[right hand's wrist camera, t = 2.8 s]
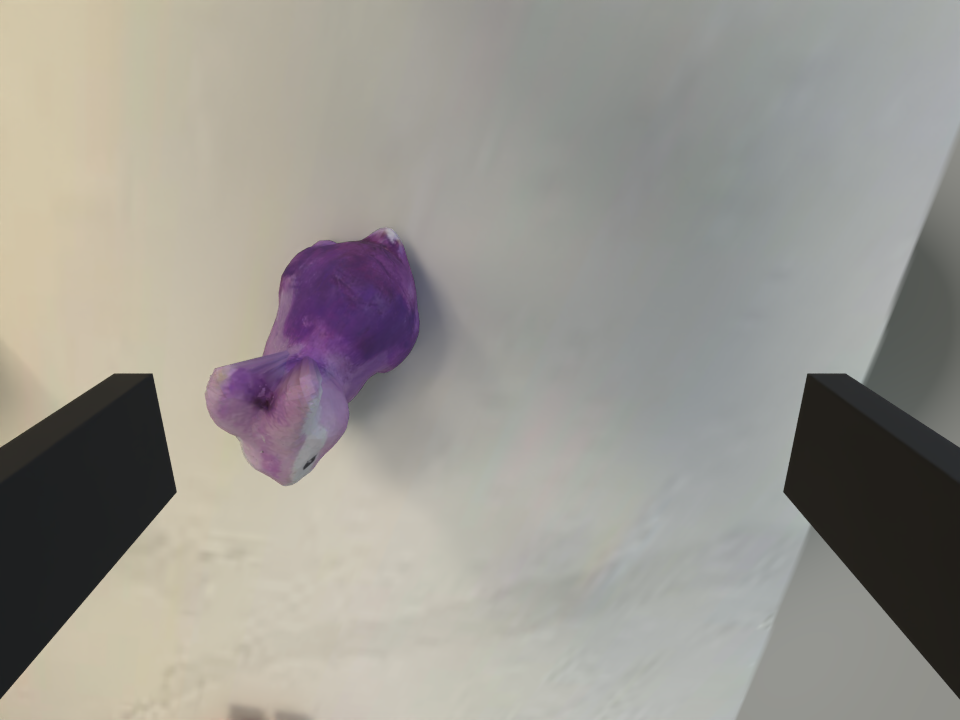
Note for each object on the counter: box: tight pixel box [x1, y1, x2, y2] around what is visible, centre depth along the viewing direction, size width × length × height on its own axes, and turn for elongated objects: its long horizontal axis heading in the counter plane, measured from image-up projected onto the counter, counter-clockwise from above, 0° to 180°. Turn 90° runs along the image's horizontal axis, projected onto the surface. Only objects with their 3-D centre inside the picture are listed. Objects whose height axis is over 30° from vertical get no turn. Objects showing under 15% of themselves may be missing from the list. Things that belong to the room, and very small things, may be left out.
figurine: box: [205, 227, 419, 486], centre depth 30 cm, size 9×10×15 cm
